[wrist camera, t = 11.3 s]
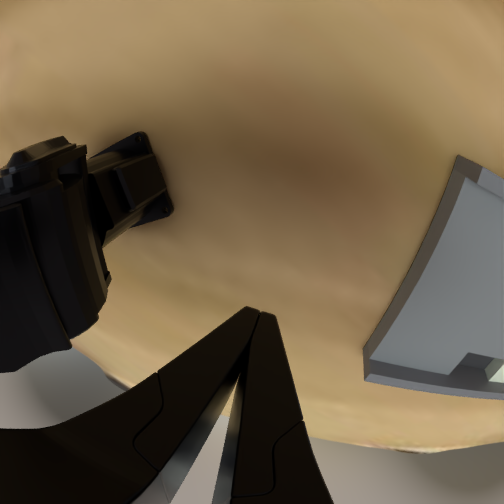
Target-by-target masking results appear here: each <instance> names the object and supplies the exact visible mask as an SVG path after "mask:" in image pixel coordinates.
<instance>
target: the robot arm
mask: <svg viewBox="0 0 504 504" xmlns="http://www.w3.org/2000/svg"><path fill="white" fill-rule="evenodd" d="M139 136H140V138H141V141H139V140H138V137H139ZM86 154H87V146H86V144H85V145H78V146H76V144H71V143H69V142H68V141H67V140H66V138H65V137H64V136H60V137H56V138H53V139H49V140H46V141H43V142H40V143H37V144H34V145H31V146H29V147H26V148H24V149H22V150H19V151H17V152H15V153H13V155H12V157H11V159H10V160H9V162H8V164H7V165H5V166H4V167H2V168H1V169H0V373H6V372H15V371H17V370H19V369H20V368H22V367H23V366H25V365H26V364H28V363H30V362H31V361H33V360H35V359H37V358H39V357H40V356H43V355H46V354H49V353H52V352H56V351H63V350H69V349H71V348H72V344H71V342H70V339H73V338H75V337H77V336H79V335H80V334H82V333H83V332H85V331H87V330H88V329H89V328H90V327H92V326H93V325H94V324H95V323H96V322H97V321H98V319H99V316H98V313H99V311H100V310H101V308H102V306H103V305H104V303H105V302H106V298H107V292H108V289H107V288H108V286H109V284H110V282H111V275H110V272H109V271H108V270H107V266H106V262H105V258H104V254H103V250H102V248H103V247H105V246H106V245H107V244H109V243H110V242H111V241H112V240H114V239H115V238H116V237H118V236H119V235H120V234H122V233H123V232H124V231H126V230H127V229H129V228H132V227H135V226H139V225H142V224H145V223H148V222H152V221H155V220H158V219H162V218H165V217H168V216H170V215H171V214H172V213H173V211H174V209H173V205H172V203H171V200H170V198H169V195H168V193H167V190H166V185H165V182H164V179H163V177H162V174H161V172H160V169H159V166H158V164H157V161H156V158H155V156H154V155H153V153H152V150H151V147H150V144H149V142H148V139H147V136H146V134H145V133H144V132H137V133H134V134H132V135H130V136H129V137H127V138H125V139H123V140H121V141H119V142H117V143H116V144H114V145H112V146H110V147H108V148H107V149H105V150H103V151H101V152H100V153H98V154H96V155H95V156H93V157H91V158H90V159H88V160H86ZM165 207H166V208H167V209H168V212H167V211H166V210H165ZM259 314H260V315H259ZM238 377H239V378H238ZM237 380H238V382H237ZM236 383H237V385H236ZM235 385H236V389H235V394H234V399H233V404H232V408H231V413H230V418H229V423H228V428H227V433H226V438H225V443H224V447H223V452H222V457H221V462H220V467H219V471H218V476H217V481H216V485H215V490H214V495H213V499H212V504H334V503H333V500H332V498H331V495H330V493H329V491H328V488H327V486H326V484H325V482H324V479H323V477H322V474H321V472H320V469H319V467H318V464H317V462H316V459H315V456H314V454H313V450H312V447H311V444H310V441H309V437H308V434H307V430H306V426H305V422H304V421H302V420H303V415H302V411H301V408H300V404H299V400H298V396H297V393H296V389H295V385H294V381H293V378H292V374H291V370H290V366H289V363H288V359H287V355H286V351H285V348H284V344H283V340H282V336H281V333H280V329H279V325H278V322H277V318H276V316H275V315H274V314H271V313H267V312H264V311H262V312H260V311H259V310H258V309H255V308H252V307H248V306H245V307H244V308H242V309H241V310H240V311H238V312H237V313H236V314H234V315H233V316H232V317H230V318H229V319H228V320H226V321H225V322H224V323H222V324H221V325H220V326H218V327H217V328H216V329H214V330H213V331H212V332H210V333H209V334H208V335H206V336H205V337H204V338H202V339H201V340H199V341H198V342H197V343H195V344H194V345H193V346H191V347H190V348H189V349H187V350H186V351H184V352H183V353H182V354H180V355H179V356H177V357H176V358H175V359H173V360H172V361H171V362H169V363H168V364H166V365H165V366H163V367H162V368H161V369H159V370H158V371H157V373H156V372H155V373H153V374H152V375H150V376H149V377H148V378H146V379H145V380H143V381H142V382H140V383H139V384H137V385H136V386H134V387H132V388H131V389H129V390H128V391H126V392H124V393H122V394H120V395H119V396H117V397H115V398H113V399H111V400H109V401H107V402H105V403H103V404H101V405H99V406H97V407H95V408H93V409H91V410H89V411H87V412H84V413H83V414H80V415H78V416H76V417H74V418H71V419H69V420H67V421H65V422H62V423H60V424H57V425H54V426H50V427H45V428H39V429H3V428H2V429H1V428H0V504H170V503H171V501H172V499H173V498H174V496H175V494H176V492H177V491H178V489H179V487H180V486H181V484H182V482H183V481H184V479H185V477H186V475H187V474H188V472H189V470H190V468H191V467H192V465H193V463H194V461H195V460H196V458H197V456H198V454H199V452H200V451H201V449H202V447H203V445H204V443H205V442H206V440H207V438H208V436H209V434H210V432H211V431H212V429H213V427H214V425H215V423H216V421H217V420H218V418H219V416H220V414H221V412H222V410H223V408H224V406H225V405H226V403H227V401H228V399H229V397H230V395H231V393H232V391H233V389H234V387H235Z"/></svg>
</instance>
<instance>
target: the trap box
mask: <svg viewBox="0 0 504 504" xmlns="http://www.w3.org/2000/svg"><path fill="white" fill-rule="evenodd" d="M363 363H364V381H367V382H372V383H377V384H382V385H387V386H393V387H398V388H404V389H410V390H416V391H423V392H430V393H437V394H444V395H453V396H462V397H471V398H483V399H497V400H504V179H502V178H501V177H499V176H497V175H496V174H494V173H493V172H491V171H489V170H488V169H486V168H484V167H482V166H480V165H478V164H476V163H474V162H472V161H470V160H468V159H466V158H464V157H462V156H460V155H458V156H457V159H456V162H455V165H454V168H453V171H452V173H451V176H450V179H449V182H448V184H447V187H446V190H445V192H444V195H443V197H442V200H441V202H440V205H439V207H438V210H437V212H436V214H435V217H434V219H433V221H432V224H431V226H430V228H429V230H428V233H427V235H426V237H425V239H424V241H423V243H422V246H421V248H420V250H419V252H418V254H417V256H416V258H415V260H414V262H413V264H412V266H411V268H410V270H409V272H408V274H407V275H406V277H405V279H404V281H403V283H402V285H401V287H400V288H399V290H398V292H397V294H396V296H395V297H394V299H393V301H392V303H391V304H390V306H389V308H388V310H387V311H386V313H385V315H384V316H383V318H382V320H381V321H380V323H379V325H378V326H377V328H376V329H375V331H374V333H373V334H372V336H371V337H370V339H369V340H368V342H367V343H366V345H365V346H364V348H363Z"/></svg>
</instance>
